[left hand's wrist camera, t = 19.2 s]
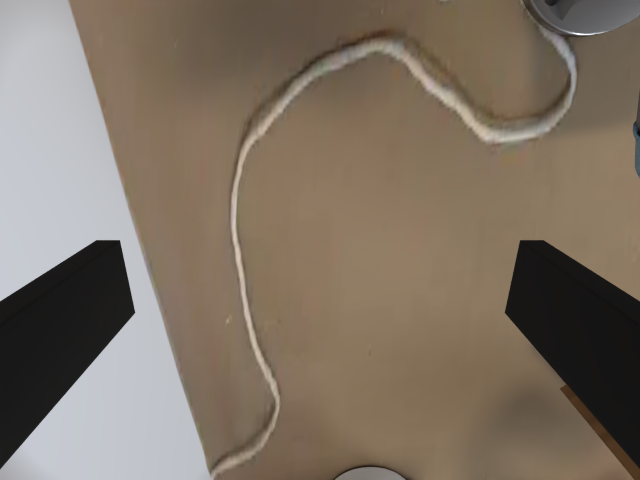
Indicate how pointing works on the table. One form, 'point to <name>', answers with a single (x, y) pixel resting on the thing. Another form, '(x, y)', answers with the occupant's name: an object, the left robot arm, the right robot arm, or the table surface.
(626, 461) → the box
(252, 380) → the table surface
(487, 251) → the table surface
